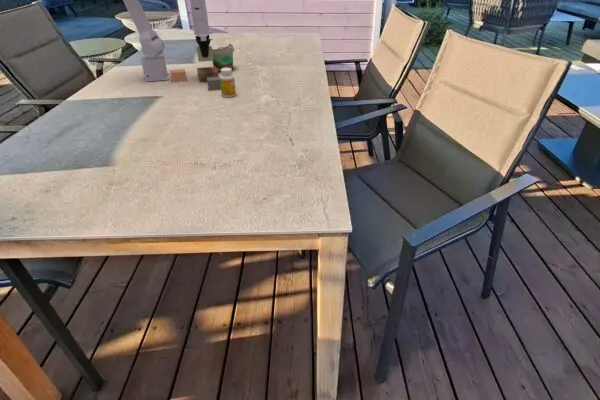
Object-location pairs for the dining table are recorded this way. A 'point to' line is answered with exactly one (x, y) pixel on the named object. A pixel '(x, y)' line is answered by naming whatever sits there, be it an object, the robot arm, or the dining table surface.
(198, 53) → the sage brick
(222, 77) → the supplement bottle
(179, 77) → the terracotta brick
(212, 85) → the charcoal brick
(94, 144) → the dining table surface
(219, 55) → the food container
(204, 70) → the walnut block
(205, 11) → the robot arm
